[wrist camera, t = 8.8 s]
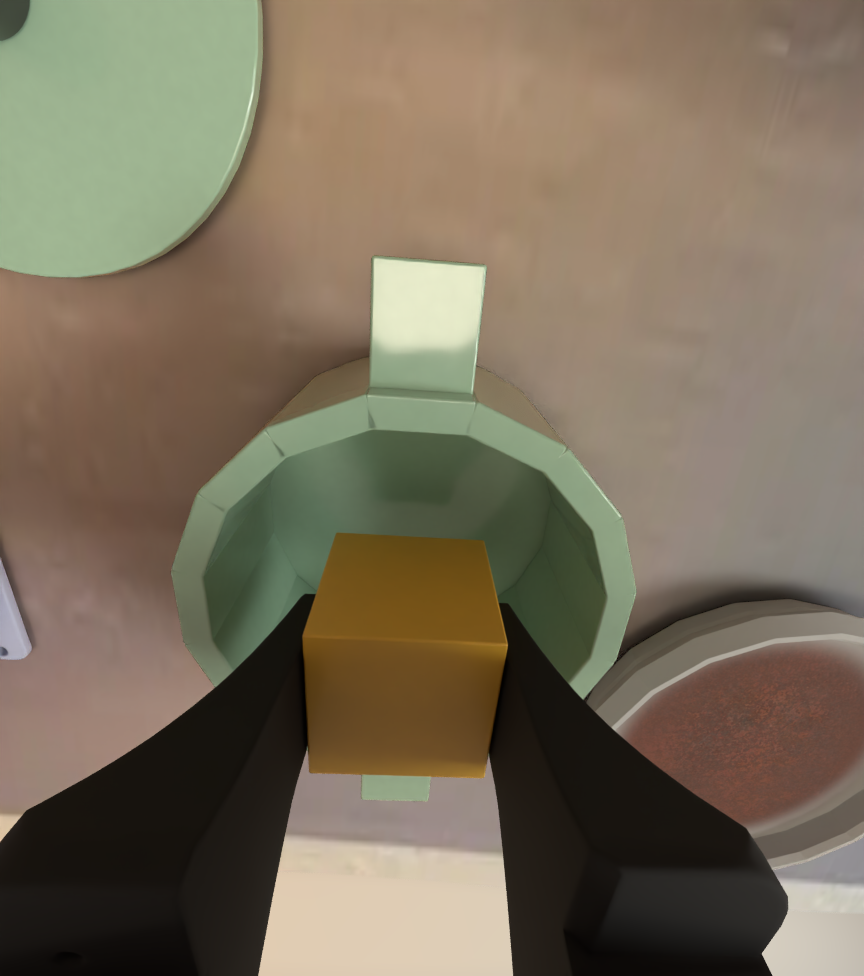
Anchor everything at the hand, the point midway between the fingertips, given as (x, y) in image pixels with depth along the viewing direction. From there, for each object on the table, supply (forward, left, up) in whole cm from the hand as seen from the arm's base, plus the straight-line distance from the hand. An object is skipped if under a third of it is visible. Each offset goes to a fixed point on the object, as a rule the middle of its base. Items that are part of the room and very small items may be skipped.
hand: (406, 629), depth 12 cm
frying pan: (+22, -11, -7) cm, 26 cm away
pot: (0, 0, -7) cm, 7 cm away
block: (0, 0, -1) cm, 1 cm away
